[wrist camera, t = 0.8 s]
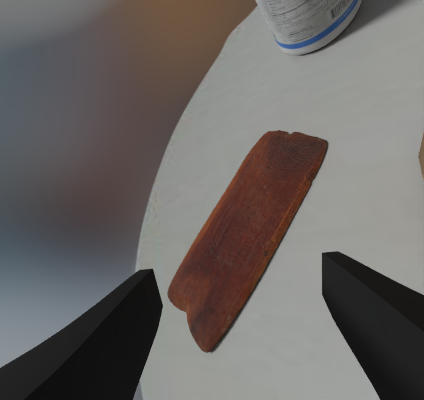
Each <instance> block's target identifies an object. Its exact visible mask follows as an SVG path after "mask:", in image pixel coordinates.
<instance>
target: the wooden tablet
mask: <svg viewBox="0 0 424 400" xmlns="http://www.w3.org/2000/svg"><path fill="white" fill-rule="evenodd" d="M325 150H326V142H325V141H324V140H322V139H319V138H317V137H312V136H308V135H305V134H303V133H299V132H293V133H292V134H289V133H288V132H285V131H280V130H278V131H268V132H267V133H265V134H264V135H263V136H262V137H261V138H260V140H259V141H258V142H257V143H256V144H255V146H254V147H253V148H252V149H251V151H250V152H249V153H248V155H247V156H246V158H245V160H244V161H243V163H242V164H241V166H240V168H239V169H238V171H237V173H236V175H235V176H234V178H233V179H232V181H231V183H230V184H229V186H228V187H227V189H226V191H225V193H224V194H223V196H222V197H221V199H220V200H219V202H218V204H217V205H216V207H215V208H214V210H213V211H212V213H211V214H210V216H209V218H208V220H207V221H206V223H205V224H204V226H203V227H202V229H201V231H200V232H199V234H198V235H197V237H196V239H195V241H194V242H193V244H192V245H191V247H190V249H189V251H188V253H187V254H186V256H185V258H184V260H183V262H182V263H181V265H180V266H179V268H178V270H177V272H176V274H175V276H174V278H173V279H172V282H171V284H170V286H169V289H168V298H169V300H170V301H171V302H172V303H173V305H174V306H176V308H178V309H180V310H182V311H185V312H186V313H187V321H188V325H189V329H190V332H191V334H192V336H193V338H194V339H195V341H196V343H197V344H198V346H199V347H200V349H201V350H202V351H204V352H206V353H207V352H210V351H212V349H213V348H214V347H215V345H216V344H217V343H218V341H219V340H220V339H221V338H222V336H223V335H224V334H225V332H226V331H227V329H228V328H229V326H230V325H231V323H232V322H233V321H234V319H235V317H236V316H237V315H238V313H239V312H240V310H241V308H242V307H243V305H244V304H245V302H246V300H247V299H248V297H249V295H250V293H251V292H252V290H253V288H254V287H255V285H256V283H257V282H258V280H259V278H260V277H261V275H262V273H263V271H264V269H265V268H266V266H267V264H268V262H269V260H270V258H271V257H272V255H273V253H274V251H275V249H276V248H277V246H278V244H279V243H280V241H281V239H282V237H283V235H284V233H285V231H286V230H287V228H288V226H289V224H290V222H291V220H292V218H293V216H294V215H295V213H296V211H297V209H298V208H299V206H300V204H301V202H302V200H303V198H304V196H305V195H306V193H307V191H308V189H309V187H310V185H311V181H312V180H313V179H314V177H315V175H316V173H317V171H318V169H319V166H320V164H321V162H322V160H323V157H324V154H325Z"/></svg>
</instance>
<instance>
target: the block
mask: <svg viewBox="0 0 424 400" xmlns="http://www.w3.org/2000/svg"><path fill="white" fill-rule="evenodd" d="M419 161H420V165H421V170H422V174H423V179H424V134H423V138H422V143H421V148H420V152H419Z"/></svg>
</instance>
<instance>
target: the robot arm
mask: <svg viewBox="0 0 424 400" xmlns="http://www.w3.org/2000/svg"><path fill="white" fill-rule="evenodd" d="M322 295H323V297H324V300H325V302H326V304H327V306H328V309H329V311H330V313H331V315H332V317H333V319H334V321H335V323H336V325H337V326H338V328H339V330H340V331H341V333H342V335H343V337H344V338H345V340H346V342H347V343H348V345H349V347H350V348H351V350H352V352H353V353H354V355H355V357H356V358H357V360H358V362H359V363H360V365H361V367H362V368H363V370H364V372H365V373H366V375H367V377H368V378H369V380H370V382H371V383H372V385H373V387H374V389H375V391H376V392H377V394H378V396H379V398H380V400H424V295H422V294H420V293H418V292H416V291H414V290H412V289H410V288H408V287H406V286H404V285H402V284H400V283H398V282H396V281H394V280H392V279H390V278H388V277H386V276H384V275H382V274H380V273H378V272H376V271H375V270H373V269H371V268H369V267H367V266H365V265H363V264H362V263H360V262H358V261H356V260H354V259H352V258H350V257H348V256H346V255H344V254H342V253H340V252H338V251H337V252H326V253H322ZM162 308H163V304H162V301H161V297H160V293H159V290H158V286H157V282H156V279H155V275H154V271H153V269H145V270H139V271H138V272H136V273H135V274H133V275H132V276H131V277H129V278H128V279H127V280H126V281H124V282H123V283H122V284H121V285H119V286H118V287H117V288H116V289H115V290H113V291H112V292H111V293H110V294H108V295H107V296H106V297H105V298H103V299H102V300H101V301H100V302H98V303H97V304H96V305H94V306H93V307H92V308H90V309H89V310H88V311H87V312H85V313H84V314H82V315H81V316H80V317H78V318H77V319H76V320H74V321H73V322H72V323H70V324H69V325H68V326H66V327H65V328H63V329H62V330H60V331H59V332H57V333H56V334H54V335H53V336H51V337H50V338H48V339H47V340H45V341H44V342H42V343H41V344H39V345H38V346H36V347H35V348H33V349H32V350H30V351H28V352H26V353H25V354H23V355H21V356H20V357H18V358H16V359H15V360H13V361H11V362H10V363H8V364H6V365H5V366H3V367H1V368H0V400H133V397H134V394H135V391H136V388H137V386H138V383H139V380H140V377H141V375H142V372H143V369H144V366H145V364H146V361H147V358H148V355H149V353H150V350H151V347H152V344H153V341H154V338H155V336H156V333H157V330H158V326H159V322H160V317H161V313H162Z"/></svg>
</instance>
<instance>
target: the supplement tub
mask: <svg viewBox="0 0 424 400" xmlns="http://www.w3.org/2000/svg"><path fill="white" fill-rule="evenodd" d="M361 1H362V0H256V2H257V4H258V6H259V8H260V10H261V12H262V14H263V16H264V18H265V20H266V22H267V24H268V26H269V28H270V30H271V32H272V34H273V36H274V38H275V40H276V42H277V43H278V45H279V47H280V49H281V50H282V51H284V52H285V53H287V54H291V55H302V54H306V53H310V52H312V51H315V50H317V49H319V48H321V47H323V46H325V45H326V44H328V43H329V42H331V41H332V40H333V39H335V38H336V37H337V36H338V35H339V34H340V33H341V32H342V31H343V30H344V29H345V28H346V27H347V26H348V25H349V23H350V22H351V21H352V19H353V18H354V16H355V15H356V13H357V11H358V9H359V7H360V4H361Z"/></svg>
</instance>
